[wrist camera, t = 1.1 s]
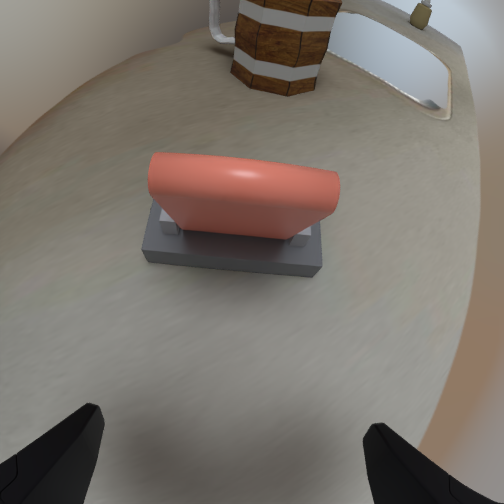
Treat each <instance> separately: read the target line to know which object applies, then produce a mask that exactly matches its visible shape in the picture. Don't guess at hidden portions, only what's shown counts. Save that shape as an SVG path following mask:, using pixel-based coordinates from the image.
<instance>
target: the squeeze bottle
mask: <svg viewBox="0 0 504 504" xmlns="http://www.w3.org/2000/svg"><path fill="white" fill-rule="evenodd" d="M421 3H422V4H421ZM421 3H418V4H417V6H416V8H415V9H414V11H413V12H412V14H411V16H410V23H411V24H412V25H413V26H415V27H417V28H419V29H423V28H425V27H426V26H427V24H428V21H429V18H430V15H431V12H432V10H431V9H430V8H431V6H432V5H430V0H424V1H423V0H422V1H421Z"/></svg>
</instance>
